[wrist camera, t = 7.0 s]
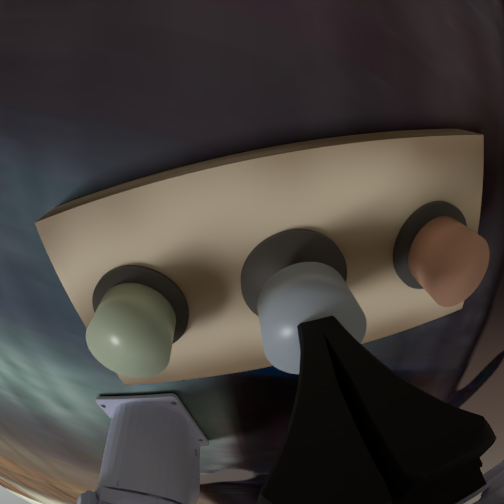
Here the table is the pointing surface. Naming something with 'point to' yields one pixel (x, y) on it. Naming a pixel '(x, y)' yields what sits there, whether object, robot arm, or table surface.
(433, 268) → the button terracotta
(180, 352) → the button panel
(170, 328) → the button sage
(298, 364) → the button slate
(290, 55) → the table surface
